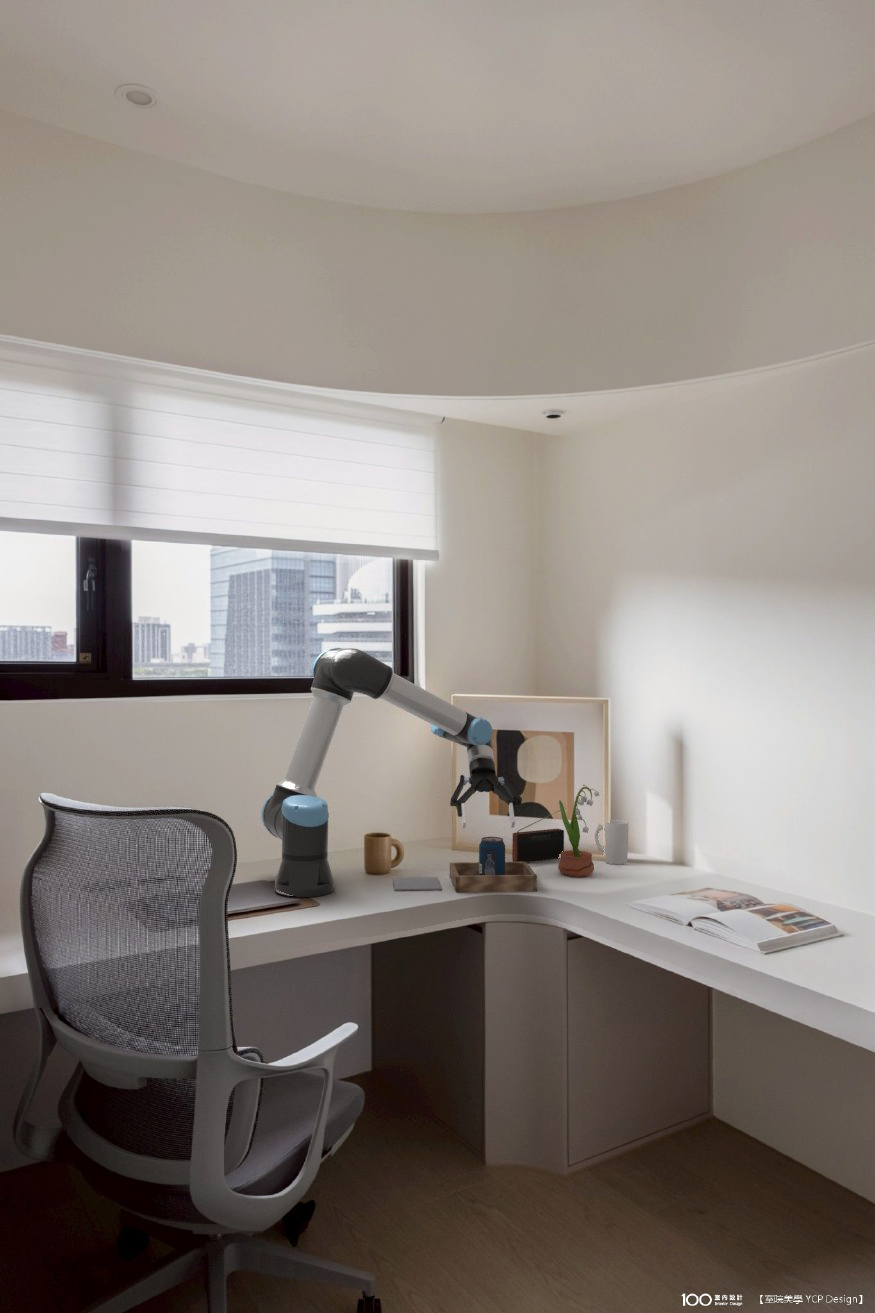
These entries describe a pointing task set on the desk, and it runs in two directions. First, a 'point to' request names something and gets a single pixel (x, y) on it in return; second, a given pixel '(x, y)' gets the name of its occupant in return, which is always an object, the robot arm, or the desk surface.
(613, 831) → the mug
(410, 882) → the grey mat
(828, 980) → the desk surface
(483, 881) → the walnut crate
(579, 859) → the potted flower
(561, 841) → the radio
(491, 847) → the soda can
